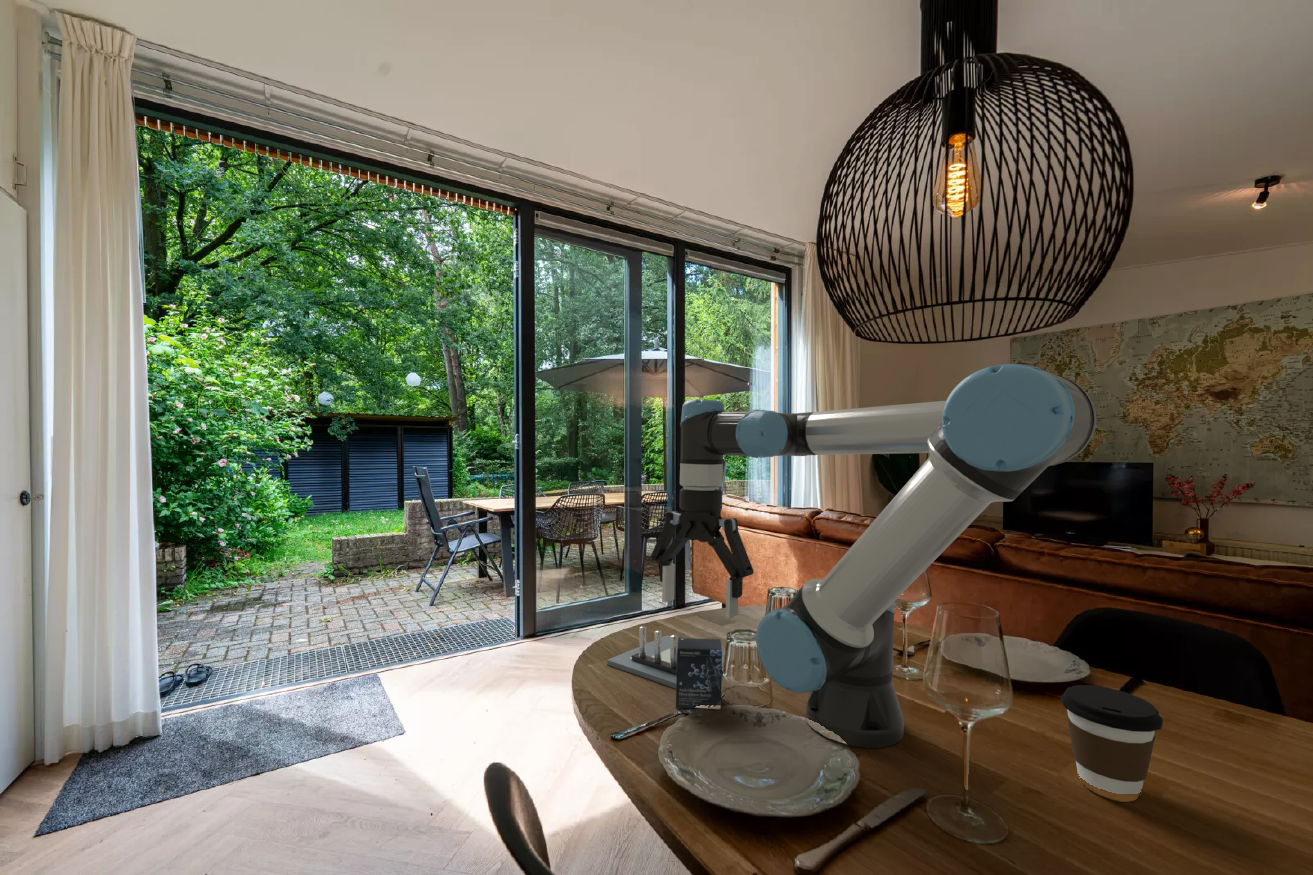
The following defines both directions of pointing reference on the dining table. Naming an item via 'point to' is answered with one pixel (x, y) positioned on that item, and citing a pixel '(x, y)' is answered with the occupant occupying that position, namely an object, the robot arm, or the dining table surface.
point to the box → (698, 672)
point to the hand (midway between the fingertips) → (698, 608)
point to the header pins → (657, 652)
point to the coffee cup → (1111, 736)
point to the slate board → (643, 670)
